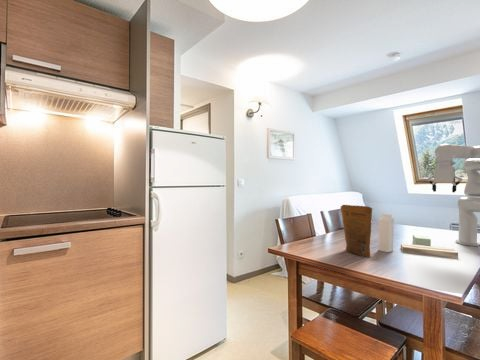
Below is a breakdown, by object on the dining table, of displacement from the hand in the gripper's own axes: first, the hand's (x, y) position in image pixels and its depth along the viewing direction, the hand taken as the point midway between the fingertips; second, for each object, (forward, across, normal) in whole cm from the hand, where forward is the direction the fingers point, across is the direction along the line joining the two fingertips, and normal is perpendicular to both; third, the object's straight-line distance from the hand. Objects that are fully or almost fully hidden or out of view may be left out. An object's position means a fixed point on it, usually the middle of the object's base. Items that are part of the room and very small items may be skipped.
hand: (443, 191), depth 163 cm
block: (+36, +11, +1) cm, 38 cm away
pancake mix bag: (+36, +27, +54) cm, 70 cm away
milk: (+36, +20, +32) cm, 52 cm away
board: (+36, +3, +17) cm, 40 cm away
